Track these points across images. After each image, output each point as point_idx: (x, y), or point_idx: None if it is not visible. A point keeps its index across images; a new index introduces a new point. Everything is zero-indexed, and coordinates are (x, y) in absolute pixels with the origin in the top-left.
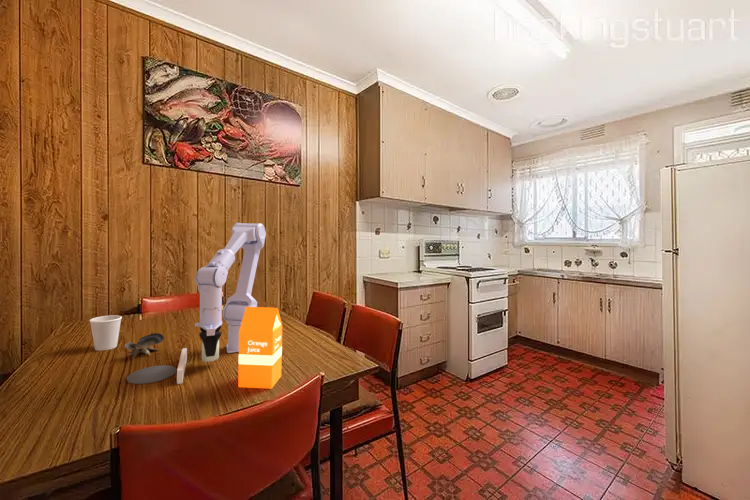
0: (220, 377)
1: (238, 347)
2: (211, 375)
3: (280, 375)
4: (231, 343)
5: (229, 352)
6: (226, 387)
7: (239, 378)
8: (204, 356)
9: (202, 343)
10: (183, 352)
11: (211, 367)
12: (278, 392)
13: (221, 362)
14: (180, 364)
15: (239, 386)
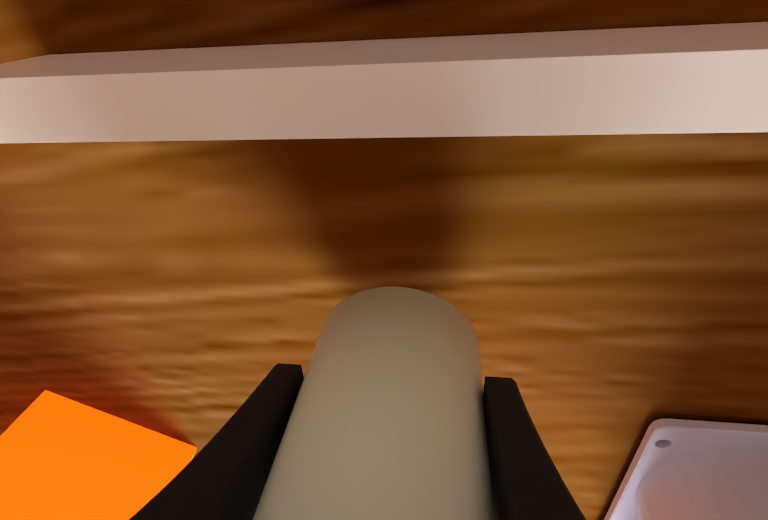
0: (174, 337)
1: (652, 502)
2: (214, 296)
3: None
4: (725, 514)
5: (647, 431)
6: (34, 349)
7: (2, 436)
8: (325, 343)
9: (312, 482)
10: (708, 87)
11: None
12: None
13: None
14: (116, 100)
15: (42, 396)
